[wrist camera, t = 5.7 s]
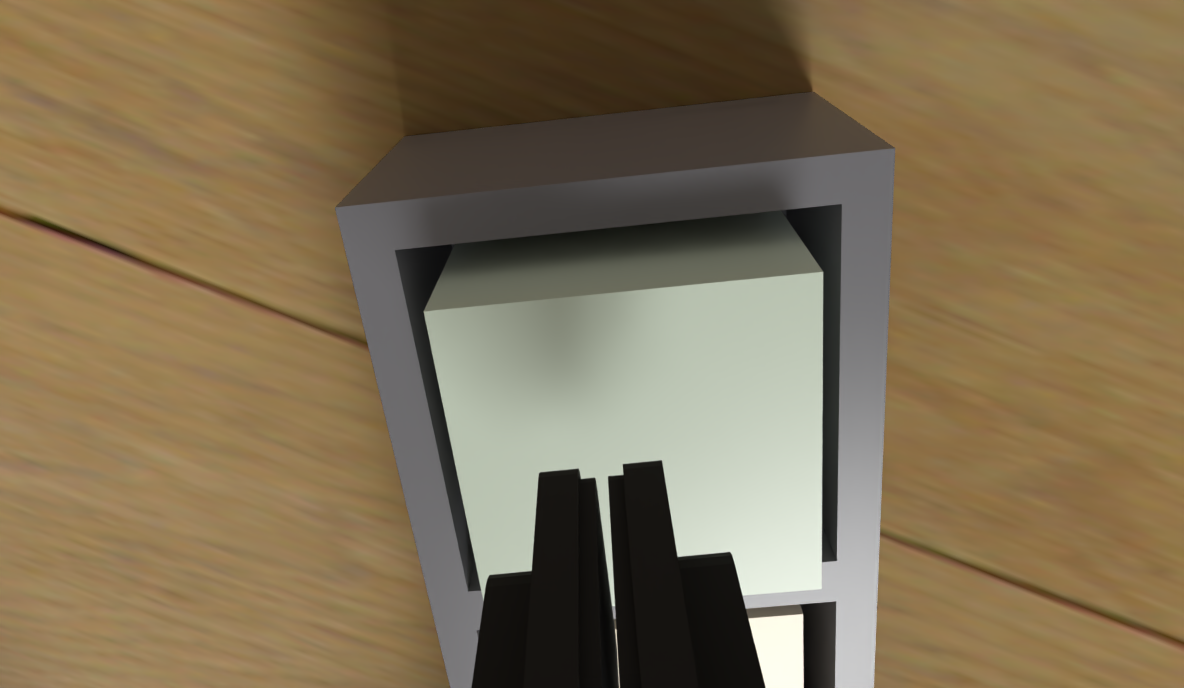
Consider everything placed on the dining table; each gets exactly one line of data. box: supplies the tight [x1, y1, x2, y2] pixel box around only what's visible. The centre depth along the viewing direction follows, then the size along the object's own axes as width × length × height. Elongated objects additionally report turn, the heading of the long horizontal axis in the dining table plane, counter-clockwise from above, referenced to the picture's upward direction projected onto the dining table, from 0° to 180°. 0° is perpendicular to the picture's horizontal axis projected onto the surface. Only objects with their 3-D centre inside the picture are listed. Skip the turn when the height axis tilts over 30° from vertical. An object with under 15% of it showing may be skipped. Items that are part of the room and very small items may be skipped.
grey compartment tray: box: [335, 92, 895, 688], centre depth 21 cm, size 9×25×6 cm, turn 6°
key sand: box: [614, 604, 804, 688], centre depth 21 cm, size 6×6×4 cm
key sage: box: [424, 210, 823, 606], centre depth 16 cm, size 6×6×4 cm
